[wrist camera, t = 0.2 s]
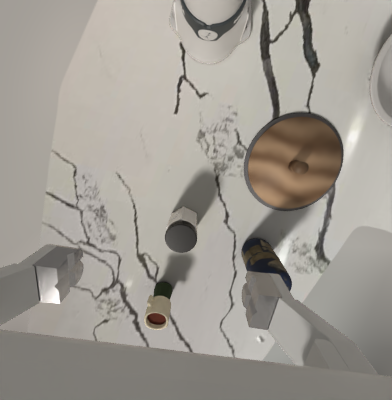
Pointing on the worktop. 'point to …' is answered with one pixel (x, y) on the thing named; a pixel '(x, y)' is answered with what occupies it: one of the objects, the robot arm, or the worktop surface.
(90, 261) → the worktop surface
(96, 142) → the worktop surface
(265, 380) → the robot arm
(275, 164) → the lid
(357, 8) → the worktop surface
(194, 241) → the jar
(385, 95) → the soup bowl
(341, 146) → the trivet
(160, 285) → the character mug
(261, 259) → the canister
